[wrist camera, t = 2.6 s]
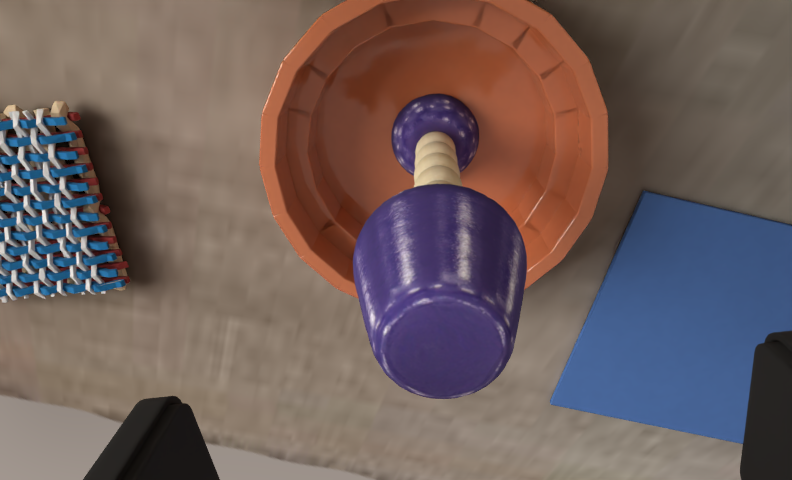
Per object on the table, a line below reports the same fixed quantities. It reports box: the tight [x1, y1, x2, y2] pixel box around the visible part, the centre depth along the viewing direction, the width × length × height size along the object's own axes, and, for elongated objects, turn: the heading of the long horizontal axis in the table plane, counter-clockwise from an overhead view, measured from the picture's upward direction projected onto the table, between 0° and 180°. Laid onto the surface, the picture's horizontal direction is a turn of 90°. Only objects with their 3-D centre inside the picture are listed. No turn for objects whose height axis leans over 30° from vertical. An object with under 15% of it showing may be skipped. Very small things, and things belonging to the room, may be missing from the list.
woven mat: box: [0, 101, 130, 303], centre depth 28 cm, size 10×11×2 cm
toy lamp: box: [353, 93, 527, 399], centre depth 19 cm, size 5×5×17 cm
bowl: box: [259, 0, 608, 299], centre depth 24 cm, size 14×14×4 cm
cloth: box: [550, 191, 792, 444], centre depth 30 cm, size 18×14×1 cm
